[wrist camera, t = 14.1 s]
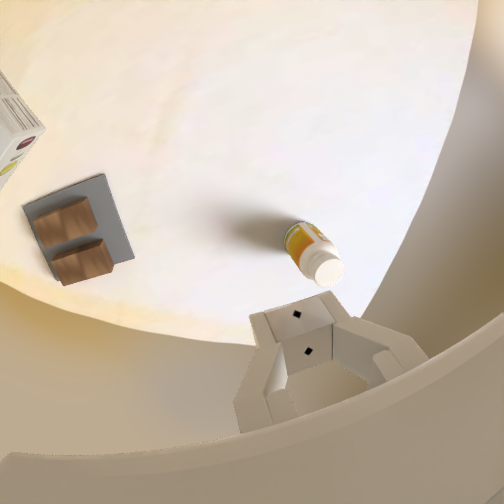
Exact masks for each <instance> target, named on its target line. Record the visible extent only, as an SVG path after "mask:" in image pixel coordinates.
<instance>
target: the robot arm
mask: <svg viewBox="0 0 504 504" xmlns="http://www.w3.org/2000/svg"><path fill="white" fill-rule="evenodd" d="M249 319H250V323H251V327H252V331H253V335H254V339H255V342H256V346H257V349H256V350H255V353H254V355H253V357H252V359H251V362H250V364H249V366H248V369H247V371H246V373H245V375H244V378H243V380H242V382H241V385H240V387H239V389H238V391H237V394H236V396H235V398H234V400H233V404H234V408H235V413H236V417H237V421H238V425H239V429H240V433H241V434H239V435H235V436H231V437H226V438H222V439H217V440H213V441H207V442H202V443H197V444H191V445H186V446H180V447H173V448H166V449H160V450H151V451H144V452H133V453H121V454H106V455H41V454H28V453H17V452H14V453H9V454H8V455H7V456H6V457H5V458H3V460H2V461H1V462H0V504H504V312H503V313H501V314H500V315H499V316H497V317H496V318H495V319H493V320H492V321H490V322H489V323H487V324H486V325H485V326H483V327H482V328H480V329H479V330H477V331H476V332H474V333H473V334H471V335H470V336H468V337H466V338H465V339H463V340H462V341H460V342H459V343H457V344H455V345H454V346H452V347H450V348H449V349H447V350H445V351H444V352H442V353H440V354H438V355H437V356H435V357H433V358H432V359H429V358H428V357H427V356H426V354H425V353H424V352H423V351H422V349H421V348H420V347H419V346H418V345H417V343H416V342H415V341H414V340H413V339H412V337H410V336H407V335H405V334H402V333H399V332H396V331H393V330H391V329H388V328H385V327H383V326H380V325H377V324H374V323H372V322H369V321H366V320H363V319H361V318H358V317H355V316H354V317H350V315H349V314H348V313H347V311H346V310H345V309H344V307H343V306H342V305H341V303H340V302H339V301H338V299H337V298H336V297H335V295H334V294H333V293H332V292H331V291H326V292H323V293H320V294H317V295H315V296H312V297H309V298H306V299H303V300H300V301H297V302H293V303H290V304H287V305H283V306H280V307H276V308H272V309H269V310H265V311H262V312H259V313H255V314H251V315H249ZM331 360H332V361H333V362H335V363H336V364H338V365H340V366H341V367H343V368H345V369H346V370H348V371H350V372H352V373H353V374H355V375H357V376H359V377H360V378H362V379H364V380H365V381H367V382H368V386H367V390H366V391H365V392H363V393H361V394H359V395H356V396H354V397H351V398H349V399H347V400H344V401H341V402H339V403H337V404H334V405H331V406H329V407H326V408H323V409H321V410H318V411H315V412H312V413H309V414H307V415H303V416H301V417H299V416H298V413H297V411H296V409H295V406H294V404H293V401H292V399H291V397H290V394H289V392H288V390H284V389H285V385H286V381H287V376H288V375H291V374H294V373H297V372H299V371H302V370H305V369H307V368H310V367H313V366H317V365H319V364H323V363H325V362H329V361H331Z"/></svg>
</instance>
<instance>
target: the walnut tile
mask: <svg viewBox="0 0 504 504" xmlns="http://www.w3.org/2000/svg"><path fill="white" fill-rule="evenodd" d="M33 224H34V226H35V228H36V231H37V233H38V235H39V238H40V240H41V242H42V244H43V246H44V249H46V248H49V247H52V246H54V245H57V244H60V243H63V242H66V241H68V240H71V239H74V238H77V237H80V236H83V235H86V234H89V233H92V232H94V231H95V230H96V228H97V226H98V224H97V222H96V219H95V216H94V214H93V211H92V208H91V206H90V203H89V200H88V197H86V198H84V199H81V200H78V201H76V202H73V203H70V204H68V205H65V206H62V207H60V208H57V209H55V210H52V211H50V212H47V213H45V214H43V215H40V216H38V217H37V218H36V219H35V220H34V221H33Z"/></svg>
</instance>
